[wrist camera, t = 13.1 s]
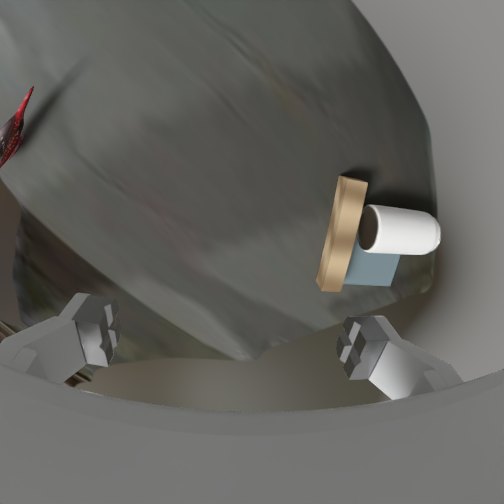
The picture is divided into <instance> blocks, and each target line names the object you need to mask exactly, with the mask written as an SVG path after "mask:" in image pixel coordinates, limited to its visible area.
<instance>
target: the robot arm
mask: <svg viewBox="0 0 504 504" xmlns="http://www.w3.org/2000/svg"><path fill="white" fill-rule="evenodd" d="M118 310H119V309H118V303H117V300H116V299H113V298H107V297H101V296H96V295H90V294H84V293H76V294H75V296H74V297H73V298H72V299H71V301H70V302H69V303H68V305H67V306H66V307H65V308H64V310H63V311H62V312H61V314H60V315H59V316H58V317H56V316H54V317H52V318H50V319H47V320H45V321H43V322H41V323H38V324H36V325H34V326H32V327H29V328H27V329H25V330H23V331H21V332H18V333H16V334H14V335H12V336H10V337H7V338H5V339H4V340H3V341H2V342H1V344H0V504H504V369H502V370H499V371H497V372H494V373H491V374H489V375H486V376H483V377H480V378H477V379H474V380H471V381H468V382H463V380H462V379H461V378H460V377H459V375H458V374H457V372H456V371H455V370H454V369H453V367H452V366H451V365H450V364H448V363H446V362H444V361H442V360H440V359H439V358H437V357H435V356H433V355H431V354H430V353H428V352H426V351H424V350H422V349H421V348H419V347H417V346H415V345H413V344H412V343H410V342H408V341H406V340H402V339H401V338H400V336H399V335H398V334H397V333H396V331H395V330H394V328H393V327H392V326H391V324H390V323H389V322H388V320H387V319H386V318H385V317H384V316H355V317H347V318H346V319H345V321H344V324H343V327H344V330H345V331H344V332H343V333H342V334H340V335H339V338H338V341H337V354H338V357H339V359H340V360H341V361H343V362H344V363H345V365H344V367H343V368H344V370H345V372H346V375H347V377H348V379H349V380H356V379H369V380H370V381H371V382H372V383H373V384H374V385H376V386H377V387H378V388H379V389H380V390H381V391H383V392H384V393H385V394H386V395H387V396H389V397H390V398H391V399H392V400H390V401H386V402H379V403H373V404H367V405H359V406H351V407H343V408H333V409H321V410H307V411H286V412H285V411H284V412H235V411H214V410H199V409H188V408H179V407H170V406H162V405H155V404H148V403H141V402H136V401H130V400H125V399H119V398H114V397H109V396H105V395H100V394H96V393H92V392H87V391H84V390H80V389H76V388H72V387H69V386H65V385H61V383H63V382H64V381H65V380H66V379H68V378H69V377H70V376H72V375H73V374H74V373H76V372H77V371H78V370H79V369H81V368H82V367H83V366H85V365H86V363H89V364H94V365H100V366H106V367H108V366H109V364H110V362H111V359H112V357H113V354H114V353H113V348H114V347H116V346H117V345H118V342H119V339H120V334H121V324H120V320H119V318H118V317H117V316H116V314H117V312H118Z"/></svg>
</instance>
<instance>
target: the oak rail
mask: <svg viewBox="0 0 504 504" xmlns="http://www.w3.org/2000/svg"><path fill="white" fill-rule="evenodd" d="M367 185H368V183H367V182H364V181H362V180H360V179H356V178H351V177H346V176H341V175H339V178H338V184H337V189H336V194H335V199H334V204H333V209H332V214H331V219H330V223H329V228H328V232H327V237H326V241H325V246H324V250H323V254H322V259H321V263H320V267H319V271H318V275H317V279H316V282H317V283H318V285H319V287H320V289H321V291H333V292H341V289H342V285H343V282H344V278H345V275H346V271H347V268H348V264H349V261H350V257H351V253H352V249H353V245H354V242H355V238H356V234H357V230H358V225H359V221H360V217H361V213H362V208H363V204H364V199H365V194H366V190H367Z"/></svg>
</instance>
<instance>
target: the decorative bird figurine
mask: <svg viewBox="0 0 504 504" xmlns="http://www.w3.org/2000/svg"><path fill="white" fill-rule="evenodd" d="M33 88H34V86H33V87H32V88H31V89H30V91H29V92H28V94H27V95H26V97H25V99H24V100H23V102H22V104H21V106H20V107H19V109H18V111H17V113H16V114H15V115H14V116H13V117H12V118H11V119H10V120H9V121H8V122H7V123H6V124H5V125H4V126H3V127H2V128H1V129H0V168H1V167H2V166H3V164H4V163H5V162H6V161H7V160H8V158H9V157H10V158H11V157H12V155H13V154H14V153H15V152H16V151H17V149H18V147H19V145H20V142H21V141H22V139H23V138H22V137H23V136H24V135H25V134H24V135H23V136H22V137H21V138H20V134H21V131H22V129H23V125H24V119H23V118H24V111H25V108H26V106H27V103H28V101H29V99H30V96H31V94H32V91H33ZM19 138H20V139H19ZM11 154H12V155H11ZM10 158H9V160H10Z"/></svg>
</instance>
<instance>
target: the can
mask: <svg viewBox="0 0 504 504" xmlns="http://www.w3.org/2000/svg"><path fill="white" fill-rule="evenodd" d="M356 236H357V241H358V244H359V246H360V247H361V248H362V249H363V250H364V251H365V252H368V253H386V254H413V255H423V254H426V253H428V252H432V251H434V250H435V249H436V248H437V247H438V245H439V243H440V239H441V227H440V224H439V222H438V220H437V219H436V218H435V217H434V216H431V215H430V214H428V213H426V212H422V211H416V210H410V209H403V208H396V207H388V206H380V205H367V206H365V207H364V208H363V209H362V213H361V217H360V221H359V225H358V230H357V234H356Z"/></svg>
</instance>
